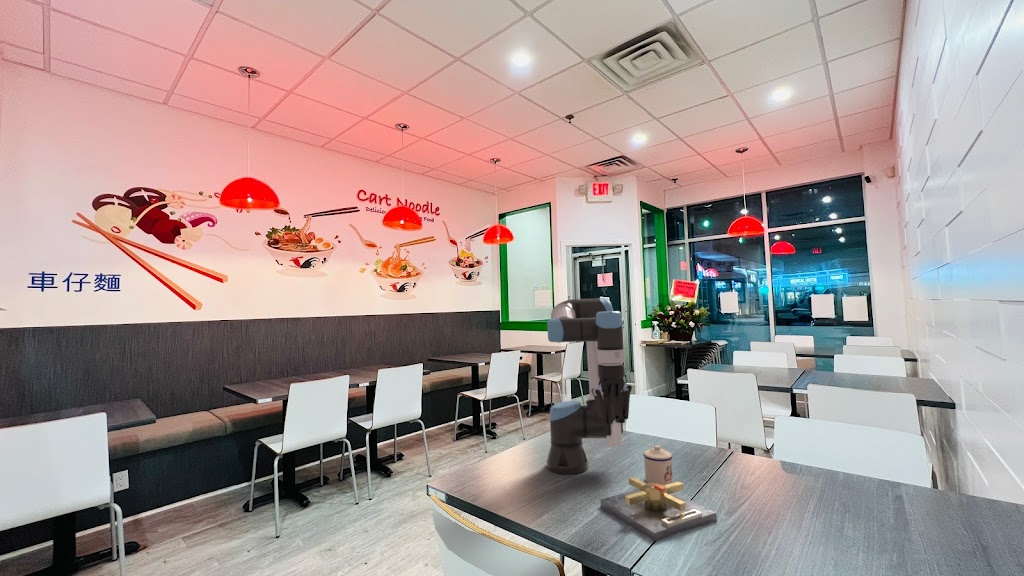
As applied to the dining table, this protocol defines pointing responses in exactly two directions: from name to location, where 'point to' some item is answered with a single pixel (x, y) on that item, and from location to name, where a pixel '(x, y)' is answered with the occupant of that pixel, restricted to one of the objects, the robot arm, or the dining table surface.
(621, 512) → the stand
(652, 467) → the teacup with lid
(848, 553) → the dining table surface
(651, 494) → the capstan
